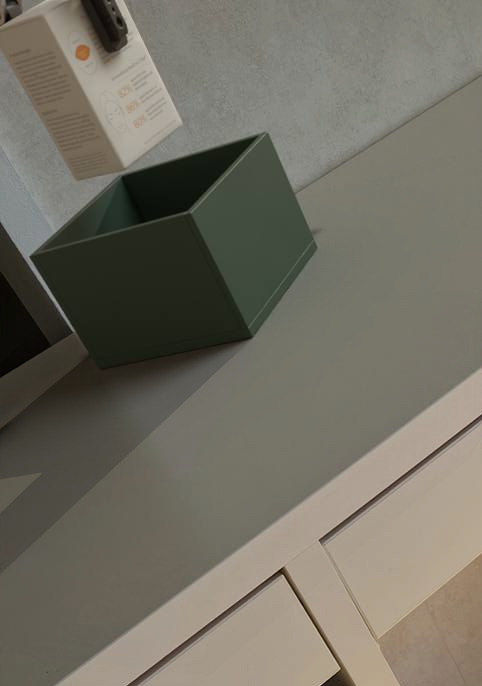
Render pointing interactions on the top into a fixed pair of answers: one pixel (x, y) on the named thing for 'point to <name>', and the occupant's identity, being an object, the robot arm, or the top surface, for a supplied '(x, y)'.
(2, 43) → the small box
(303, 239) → the bin
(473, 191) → the top surface
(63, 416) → the top surface
